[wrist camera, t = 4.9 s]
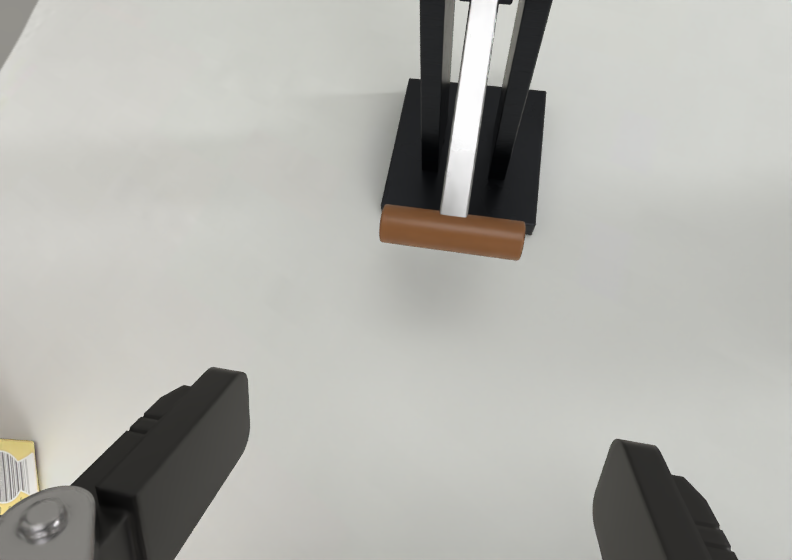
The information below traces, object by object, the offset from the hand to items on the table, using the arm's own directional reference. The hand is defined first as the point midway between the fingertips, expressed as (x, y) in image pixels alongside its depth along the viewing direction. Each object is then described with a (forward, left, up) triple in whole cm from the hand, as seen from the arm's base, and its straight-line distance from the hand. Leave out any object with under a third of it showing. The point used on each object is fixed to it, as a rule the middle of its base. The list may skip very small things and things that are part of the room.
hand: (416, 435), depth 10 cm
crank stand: (-16, -9, -14) cm, 23 cm away
